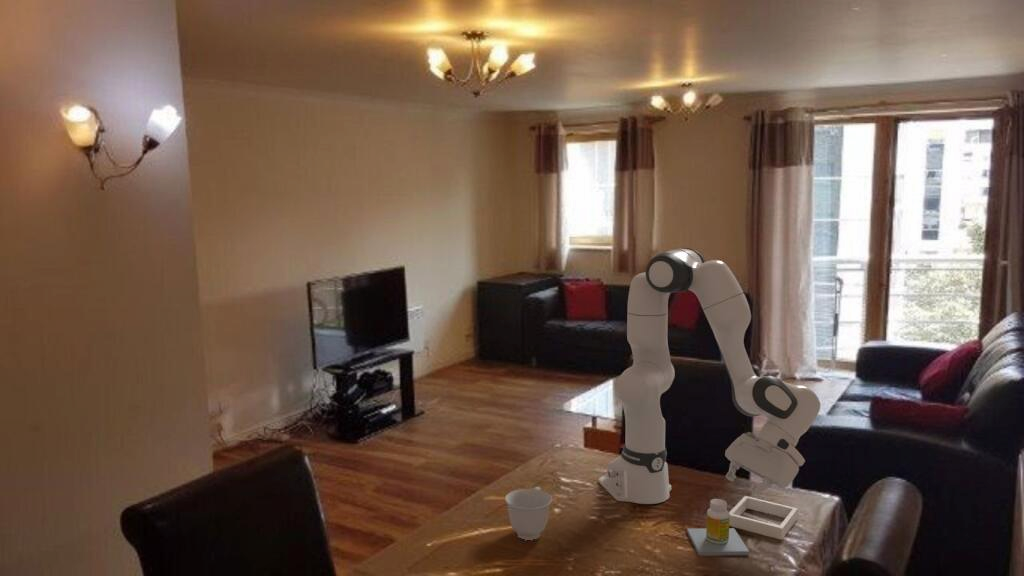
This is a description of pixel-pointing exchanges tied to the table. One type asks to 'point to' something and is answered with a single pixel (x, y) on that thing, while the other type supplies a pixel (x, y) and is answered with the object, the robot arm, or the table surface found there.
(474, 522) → the table surface
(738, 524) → the bin
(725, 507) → the supplement bottle
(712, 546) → the pad
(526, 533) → the teacup
